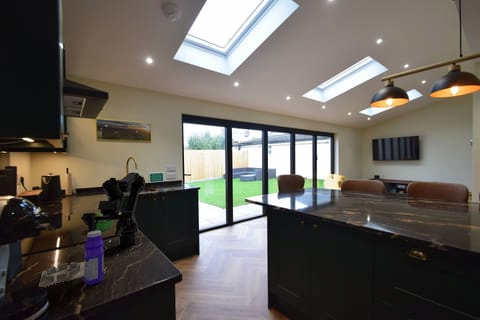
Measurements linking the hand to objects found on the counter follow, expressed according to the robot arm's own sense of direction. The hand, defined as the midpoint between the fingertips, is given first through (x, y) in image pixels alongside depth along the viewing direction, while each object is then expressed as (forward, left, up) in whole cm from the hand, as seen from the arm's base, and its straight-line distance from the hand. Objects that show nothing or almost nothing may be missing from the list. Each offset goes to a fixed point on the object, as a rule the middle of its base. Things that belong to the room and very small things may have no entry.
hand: (102, 237), depth 81 cm
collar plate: (+10, -6, -13) cm, 18 cm away
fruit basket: (-4, -62, -13) cm, 64 cm away
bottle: (+3, +6, -13) cm, 15 cm away
